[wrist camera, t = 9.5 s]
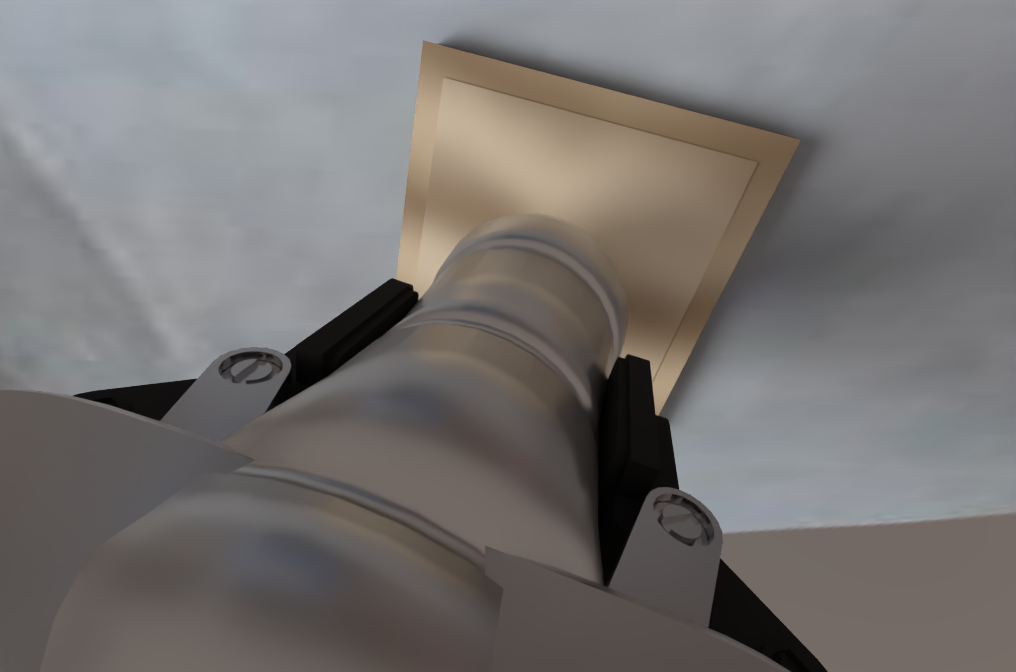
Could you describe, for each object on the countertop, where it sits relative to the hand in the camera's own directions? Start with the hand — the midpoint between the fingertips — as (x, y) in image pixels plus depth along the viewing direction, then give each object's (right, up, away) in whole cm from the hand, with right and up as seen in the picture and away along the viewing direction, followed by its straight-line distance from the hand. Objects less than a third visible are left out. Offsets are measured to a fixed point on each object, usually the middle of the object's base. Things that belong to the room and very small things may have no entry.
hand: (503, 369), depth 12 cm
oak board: (+2, +4, +9) cm, 10 cm away
